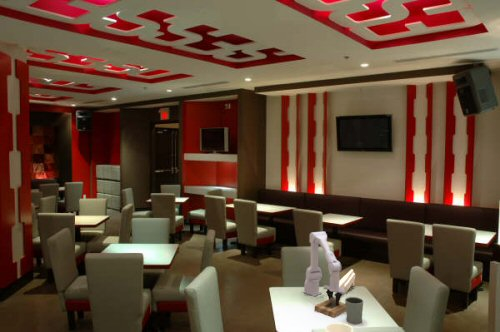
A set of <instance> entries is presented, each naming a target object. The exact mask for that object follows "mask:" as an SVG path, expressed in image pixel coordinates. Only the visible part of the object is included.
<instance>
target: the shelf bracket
mask: <svg viewBox="0 0 500 332" xmlns="http://www.w3.org/2000/svg"><path fill="white" fill-rule="evenodd" d="M355 280H356V273H355V272H354V269H352V268H351V269H350V270H349V271H348V272H347V273H346V274H345V275H343V277H341V279H339V288H340V289H342V290H344V291H346V293H347V292H348V291H349V289H350V287H351V286H353V287H354V286H355ZM334 293H335V294H336V293H337V292H334Z"/></svg>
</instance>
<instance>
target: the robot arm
mask: <svg viewBox="0 0 500 332" xmlns="http://www.w3.org/2000/svg"><path fill="white" fill-rule="evenodd" d="M326 232H327V231H314V232H313V231H312V232H310V233H309V243H310V265H309V266H308V267H307V268H306V269H305V270H306V272H305V281H304V286H303V288H304V290H303V293H304V294H307V295H309V296H312V297H316V296H319V295H321V294H322V292H321V291H320V281H321V279H322V278H323V274H322V269H321V267H319V245H320V247H321V248H322V250H323V252H324V258H325V260H326V262H327V264H328V265H327V270H328V274H329V285H327V284H325V285H323V290H326V292H325V293H326V294H327V297H328V299H329V301H330V298H331V297H336V305H338V304H339V302H341V298H342V296H346V293H347V292H346V291H344V290H342V289H340V288H339V281H340V272H342V264H341V262H340V261H339V260H337V257H336V256H335V253H334V251H331V249H330V246H329V243H328V241H327V240H328V234H327V233H326ZM335 292H337V293H335ZM334 293H335V294H334Z"/></svg>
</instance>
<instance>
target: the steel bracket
mask: <svg viewBox="0 0 500 332" xmlns="http://www.w3.org/2000/svg"><path fill="white" fill-rule="evenodd" d="M337 306H338V305H336V297H335V296H333V297H331V298H330V306H329V307H327V308H330V309H333V308H335V307H337Z"/></svg>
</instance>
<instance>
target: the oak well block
mask: <svg viewBox="0 0 500 332" xmlns="http://www.w3.org/2000/svg"><path fill="white" fill-rule="evenodd" d="M329 306H330V301H329V298H328V299H326V300H323V301H322V302H320V303H318V304H316V305H314V311H315V312H316V313H317V312H318V313H321V314H323V315H325V316H328V317H332V318H337V317H338V316H340V315H342V314H343V313H346V304H345V303H344V302H342V301H339V304H338V306H337V307H335V308H333V309H330V308H327V307H329Z"/></svg>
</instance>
